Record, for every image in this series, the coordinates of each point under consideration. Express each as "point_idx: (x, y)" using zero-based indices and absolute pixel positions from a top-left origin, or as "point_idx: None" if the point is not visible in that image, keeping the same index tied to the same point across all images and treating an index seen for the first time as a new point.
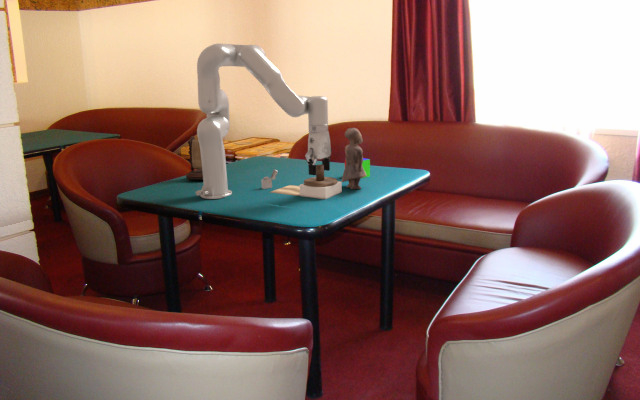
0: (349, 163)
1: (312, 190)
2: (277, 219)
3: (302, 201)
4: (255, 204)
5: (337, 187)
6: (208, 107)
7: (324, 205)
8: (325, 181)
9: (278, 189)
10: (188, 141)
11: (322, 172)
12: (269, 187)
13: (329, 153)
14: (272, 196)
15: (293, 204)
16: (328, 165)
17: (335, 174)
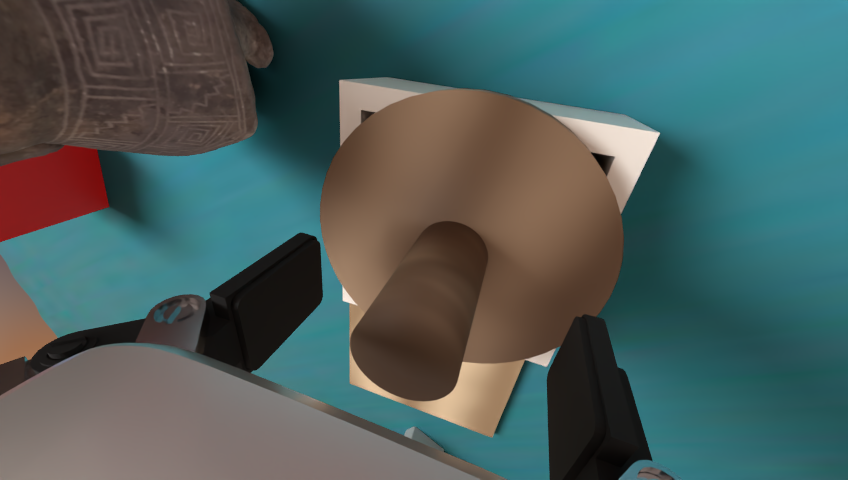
0: (26, 52)
1: None
2: None
3: (658, 271)
4: (738, 471)
5: (425, 89)
6: None
7: (842, 48)
8: (491, 194)
9: (435, 412)
10: None
11: (452, 271)
12: (421, 441)
13: (94, 398)
14: (544, 419)
15: (759, 305)
16: (281, 267)
17: (113, 257)
